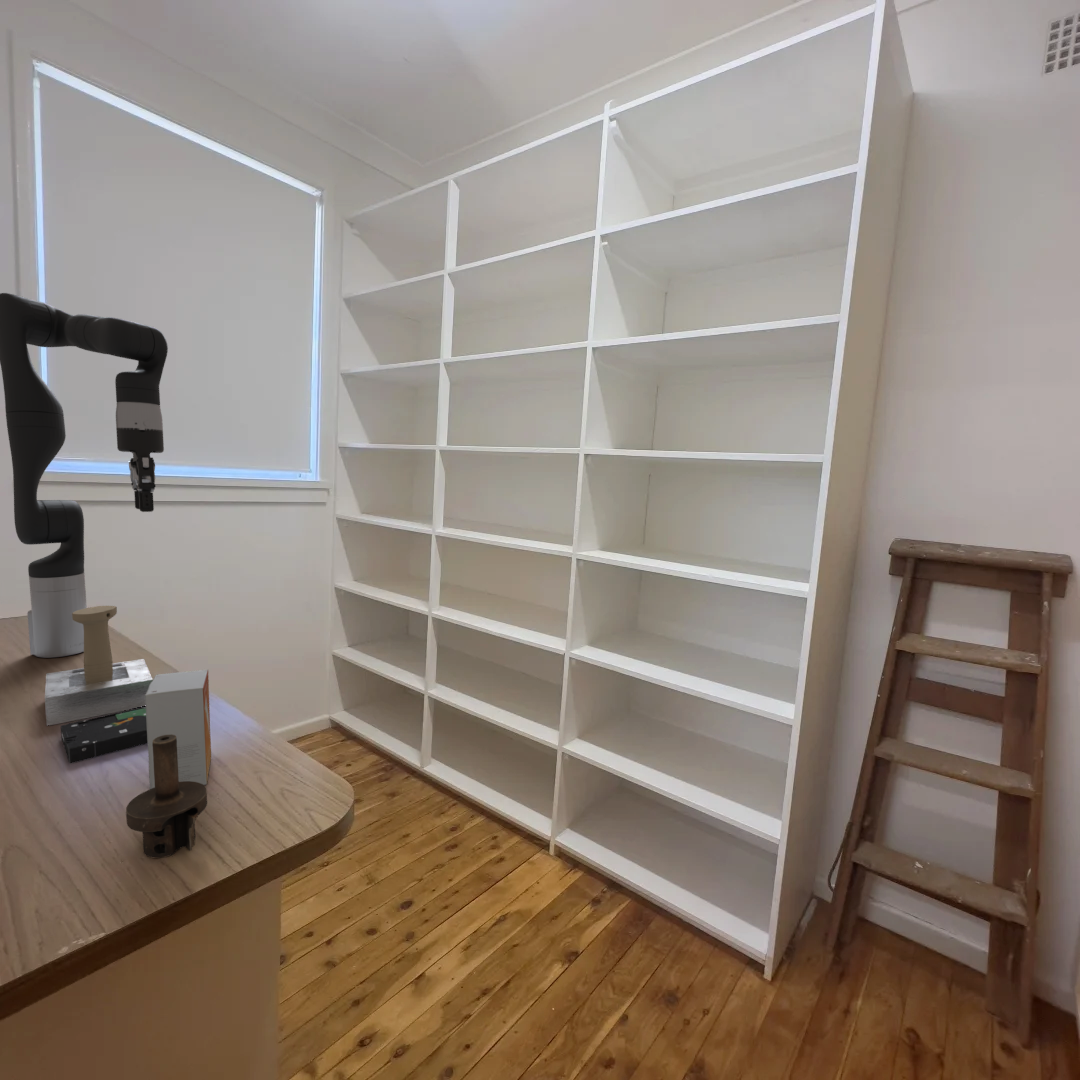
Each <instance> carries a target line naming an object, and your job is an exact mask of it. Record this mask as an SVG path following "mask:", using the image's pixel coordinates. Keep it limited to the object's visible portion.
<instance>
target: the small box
mask: <svg viewBox="0 0 1080 1080" xmlns="http://www.w3.org/2000/svg"><path fill="white" fill-rule="evenodd" d="M152 679H153V681H152V682H151V684H150V685H149V688H148V691H147V693H146V695H145V702H146V722H147V741H148V744H147V751H148V752H147V753H148V756H147V757H148V778H149V789H152V788H155V780H154V761H153V746H152V744H153V743H152V742H153V740H154V739H155V738H157V737H159V736H162V735H169V734H172V735H175V736H176V737H177V756H178V777H179V782H183V781H192V782H198V783H201V784H203V785H204V786H205V785H207V784H208V779H209V778H208V777H209V772H210V765H211V761H212V740H211V739H212V738H211V715H210V714H211V713H210V691H209V690H210V687H209V685H210V684H209V681H210V680H209V669H198V670H189V671H178V672H169V673H168V672H167V673H160V674H155V676H154V677H153V678H152Z"/></svg>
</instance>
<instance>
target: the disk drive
mask: <svg viewBox="0 0 1080 1080" xmlns="http://www.w3.org/2000/svg"><path fill="white" fill-rule="evenodd" d="M60 735H61V737H60V738H61V742H62V745H63V746H62V747H63V748H64V751H65V755H66V758H67V760H68V763H69V764H74V763H78V762H82V761H86V760H91V759H93V758H98V757H100V756H101V757H102V756H105V755H109V754H112V753H116V752H120V751H124V750H128V749H132V748H135V747H140V746H143V745H148V741H147V722H146V707H141V708H136V709H131V710H126V711H120V712H115V713H110V714H105V715H100V716H96V717H91V718H87V719H82V720H77V721H75V722H74V721H73V722H69V723H67V724H63V725H60Z"/></svg>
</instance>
